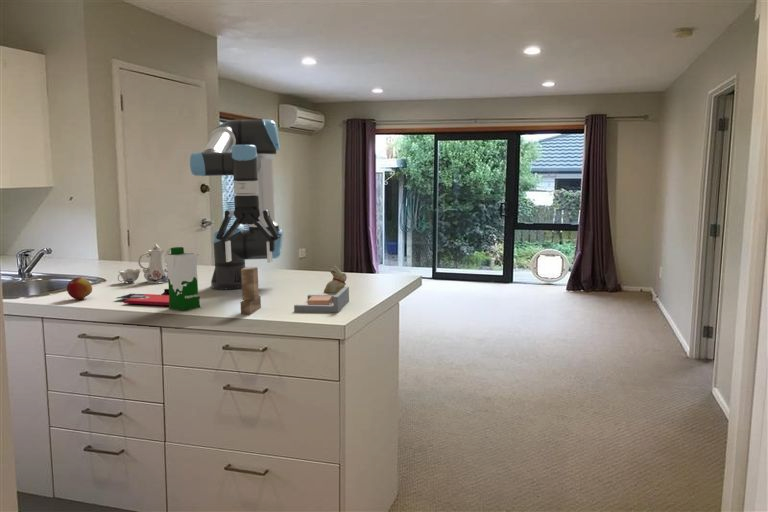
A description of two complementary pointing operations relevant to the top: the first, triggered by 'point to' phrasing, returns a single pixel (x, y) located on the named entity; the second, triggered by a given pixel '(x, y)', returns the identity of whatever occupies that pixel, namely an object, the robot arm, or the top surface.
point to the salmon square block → (320, 300)
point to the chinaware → (149, 268)
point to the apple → (79, 288)
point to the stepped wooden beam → (250, 291)
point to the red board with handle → (148, 298)
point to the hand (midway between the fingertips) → (249, 261)
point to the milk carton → (182, 279)
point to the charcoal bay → (338, 304)
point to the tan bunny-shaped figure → (336, 281)
